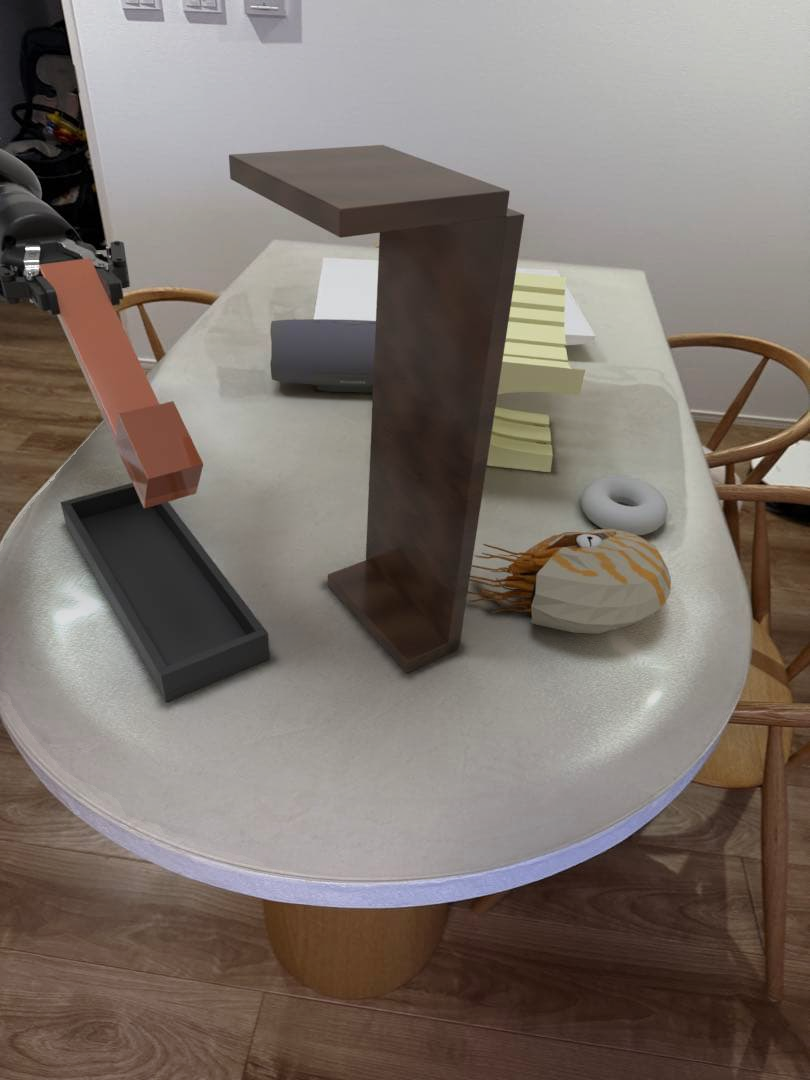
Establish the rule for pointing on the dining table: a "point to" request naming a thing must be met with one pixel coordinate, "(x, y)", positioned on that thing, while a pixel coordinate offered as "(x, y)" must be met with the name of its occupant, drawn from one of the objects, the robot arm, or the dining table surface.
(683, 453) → the dining table surface
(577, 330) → the board
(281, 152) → the dark brown wooden stand
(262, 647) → the shallow dark tray
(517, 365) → the slatted curved stool
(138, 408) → the reddish-brown long block
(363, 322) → the bluetooth speaker
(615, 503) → the donut
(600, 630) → the nautilus
